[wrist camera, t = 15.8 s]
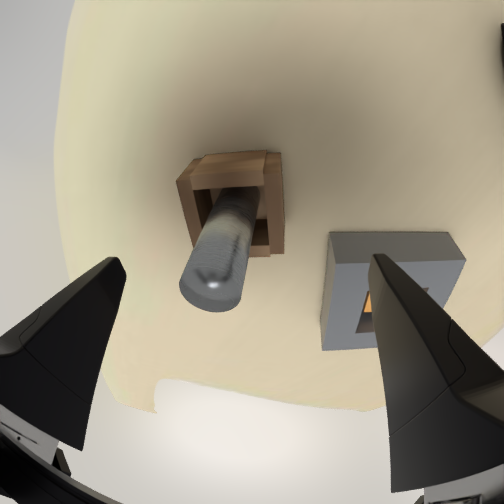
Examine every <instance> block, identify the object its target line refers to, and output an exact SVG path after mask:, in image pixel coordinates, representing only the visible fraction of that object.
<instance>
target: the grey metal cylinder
mask: <svg viewBox="0 0 504 504" xmlns="http://www.w3.org/2000/svg"><path fill="white" fill-rule="evenodd" d="M259 201H260V192H259V189H258V187H257V186H244V187H227V188H222V189H221V191H220V193H219V195H218V197H217V200H216V202H215V204H214V206H213V208H212V210H211V212H210V214H209V216H208V218H207V221H206V223H205V225H204V227H203V229H202V231H201V234H200V236H199V238H198V240H197V242H196V245H195V247H194V249H193V251H192V253H191V256H190V258H189V260H188V263H187V265H186V267H185V269H184V272H183V274H182V276H181V279H180V282H179V287H180V291H181V293H182V295H183V296H184V298H185V299H186V300H187V301H188V302H189V303H191V304H192V305H194V306H195V307H197V308H200V309H202V310H205V311H209V312H225V311H229V310H231V309H233V308H234V307H236V306H237V305H238V303H239V302H240V299H241V294H242V289H243V284H244V279H245V273H246V268H247V263H248V258H249V253H250V248H251V242H252V237H253V232H254V227H255V222H256V217H257V211H258V206H259Z"/></svg>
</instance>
